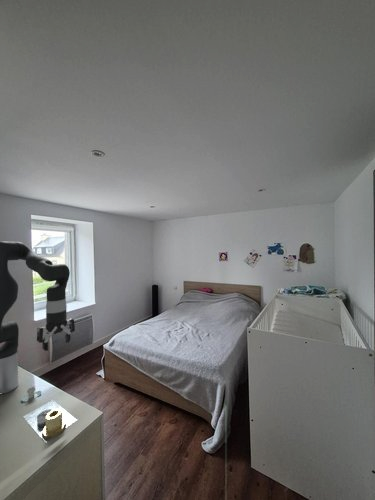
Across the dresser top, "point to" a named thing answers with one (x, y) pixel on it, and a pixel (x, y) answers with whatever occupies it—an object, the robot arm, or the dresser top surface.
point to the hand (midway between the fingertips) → (57, 346)
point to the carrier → (38, 416)
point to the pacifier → (30, 394)
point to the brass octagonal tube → (53, 424)
